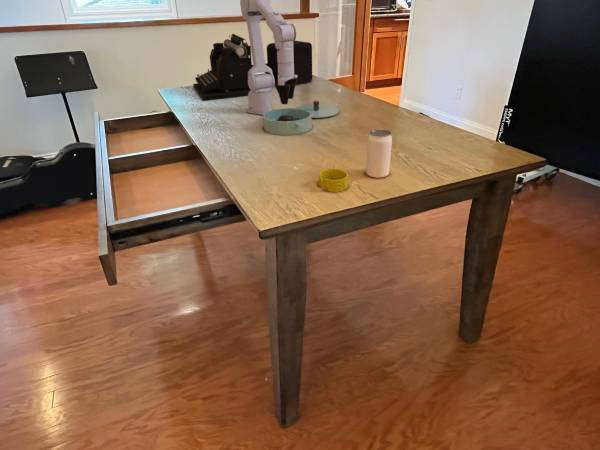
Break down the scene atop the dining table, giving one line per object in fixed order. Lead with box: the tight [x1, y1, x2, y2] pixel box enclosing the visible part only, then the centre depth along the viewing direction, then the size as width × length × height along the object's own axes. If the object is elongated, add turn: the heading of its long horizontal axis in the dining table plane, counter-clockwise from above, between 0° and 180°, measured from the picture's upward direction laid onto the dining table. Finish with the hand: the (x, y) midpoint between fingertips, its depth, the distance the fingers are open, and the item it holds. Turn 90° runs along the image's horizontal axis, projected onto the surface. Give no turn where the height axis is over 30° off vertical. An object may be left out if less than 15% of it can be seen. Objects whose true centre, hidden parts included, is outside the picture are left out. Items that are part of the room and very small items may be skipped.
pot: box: [262, 107, 313, 136], centre depth 155 cm, size 18×23×5 cm
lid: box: [296, 100, 340, 119], centre depth 171 cm, size 19×19×5 cm
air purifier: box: [266, 40, 313, 86], centre depth 218 cm, size 20×15×20 cm
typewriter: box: [192, 33, 253, 102], centre depth 204 cm, size 31×27×25 cm
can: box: [365, 128, 393, 179], centre depth 114 cm, size 6×6×12 cm
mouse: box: [276, 115, 299, 121], centre depth 155 cm, size 8×5×4 cm, turn 77°
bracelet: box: [318, 168, 349, 193], centre depth 110 cm, size 7×8×3 cm
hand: (287, 101), depth 152 cm, fingers open, 7 cm apart
